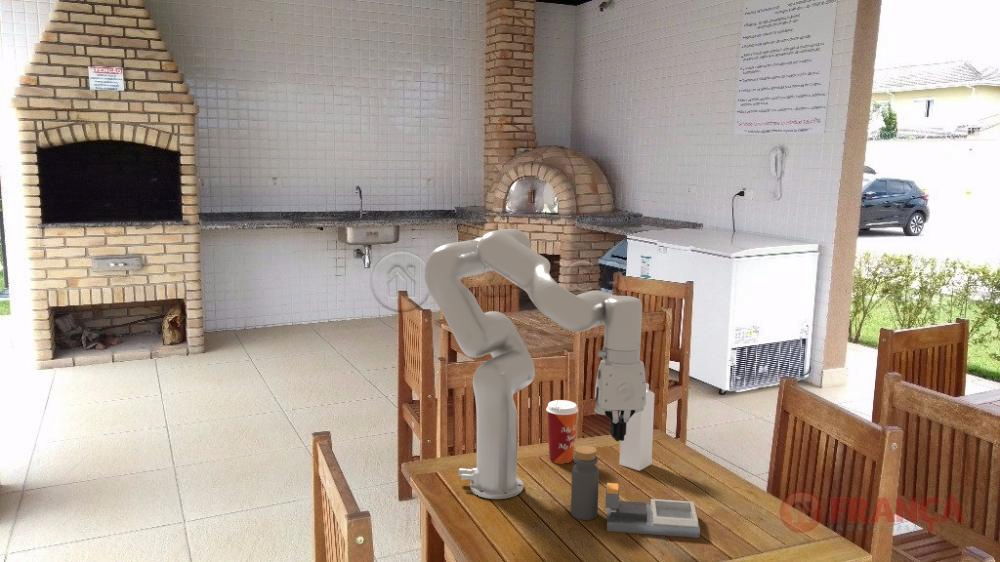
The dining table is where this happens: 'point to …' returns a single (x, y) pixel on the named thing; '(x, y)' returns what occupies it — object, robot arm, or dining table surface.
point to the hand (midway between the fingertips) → (617, 438)
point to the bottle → (585, 484)
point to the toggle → (612, 496)
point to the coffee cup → (561, 430)
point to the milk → (639, 437)
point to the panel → (655, 518)
